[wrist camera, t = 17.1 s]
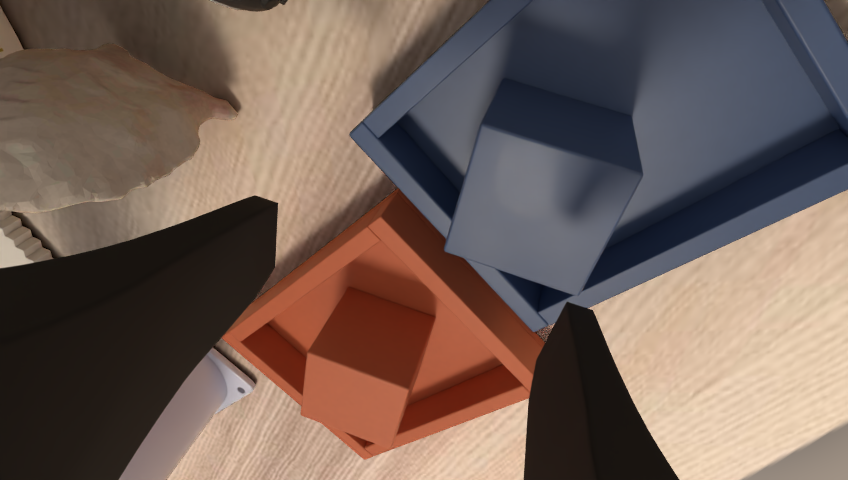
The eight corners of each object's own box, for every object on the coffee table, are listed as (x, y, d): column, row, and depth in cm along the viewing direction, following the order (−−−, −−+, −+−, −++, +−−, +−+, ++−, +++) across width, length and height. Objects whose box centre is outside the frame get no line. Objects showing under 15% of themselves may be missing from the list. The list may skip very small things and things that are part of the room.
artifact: (249, 88, 21) (59, 215, 13) (236, 142, 22) (60, 285, 14) (88, 6, 20) (-219, 85, 12) (87, 67, 22) (-186, 173, 14)
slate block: (580, 224, 19) (578, 298, 16) (468, 188, 20) (442, 251, 16) (633, 116, 17) (645, 174, 13) (503, 76, 17) (480, 123, 14)
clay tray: (379, 423, 31) (364, 460, 29) (246, 306, 28) (220, 337, 26) (552, 350, 24) (549, 391, 22) (400, 186, 21) (380, 216, 19)
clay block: (417, 375, 27) (390, 450, 23) (338, 347, 27) (299, 415, 23) (436, 316, 24) (409, 390, 20) (348, 285, 24) (306, 352, 21)
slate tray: (538, 295, 22) (533, 333, 20) (371, 111, 20) (347, 135, 18) (873, 126, 16) (916, 158, 14) (688, -189, 13) (707, -206, 11)
